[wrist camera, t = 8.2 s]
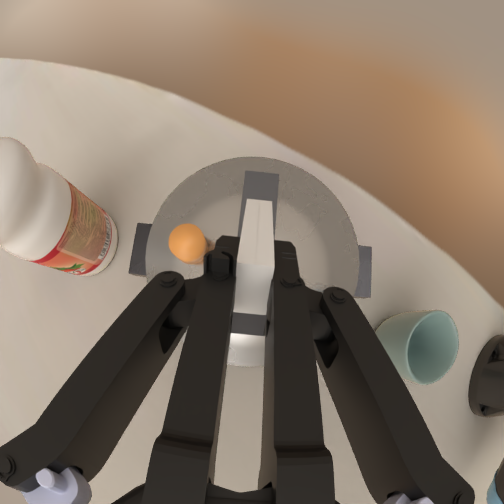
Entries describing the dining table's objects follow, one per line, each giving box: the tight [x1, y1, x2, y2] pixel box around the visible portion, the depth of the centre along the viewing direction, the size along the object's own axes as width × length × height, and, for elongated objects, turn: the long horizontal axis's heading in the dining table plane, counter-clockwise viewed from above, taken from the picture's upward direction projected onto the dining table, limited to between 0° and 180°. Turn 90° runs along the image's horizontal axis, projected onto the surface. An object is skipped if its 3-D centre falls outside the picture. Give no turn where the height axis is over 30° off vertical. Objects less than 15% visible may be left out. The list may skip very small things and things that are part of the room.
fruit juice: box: [0, 137, 118, 276], centre depth 19 cm, size 9×9×28 cm
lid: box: [145, 157, 359, 367], centre depth 19 cm, size 16×16×3 cm
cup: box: [375, 310, 459, 385], centre depth 27 cm, size 8×8×10 cm
